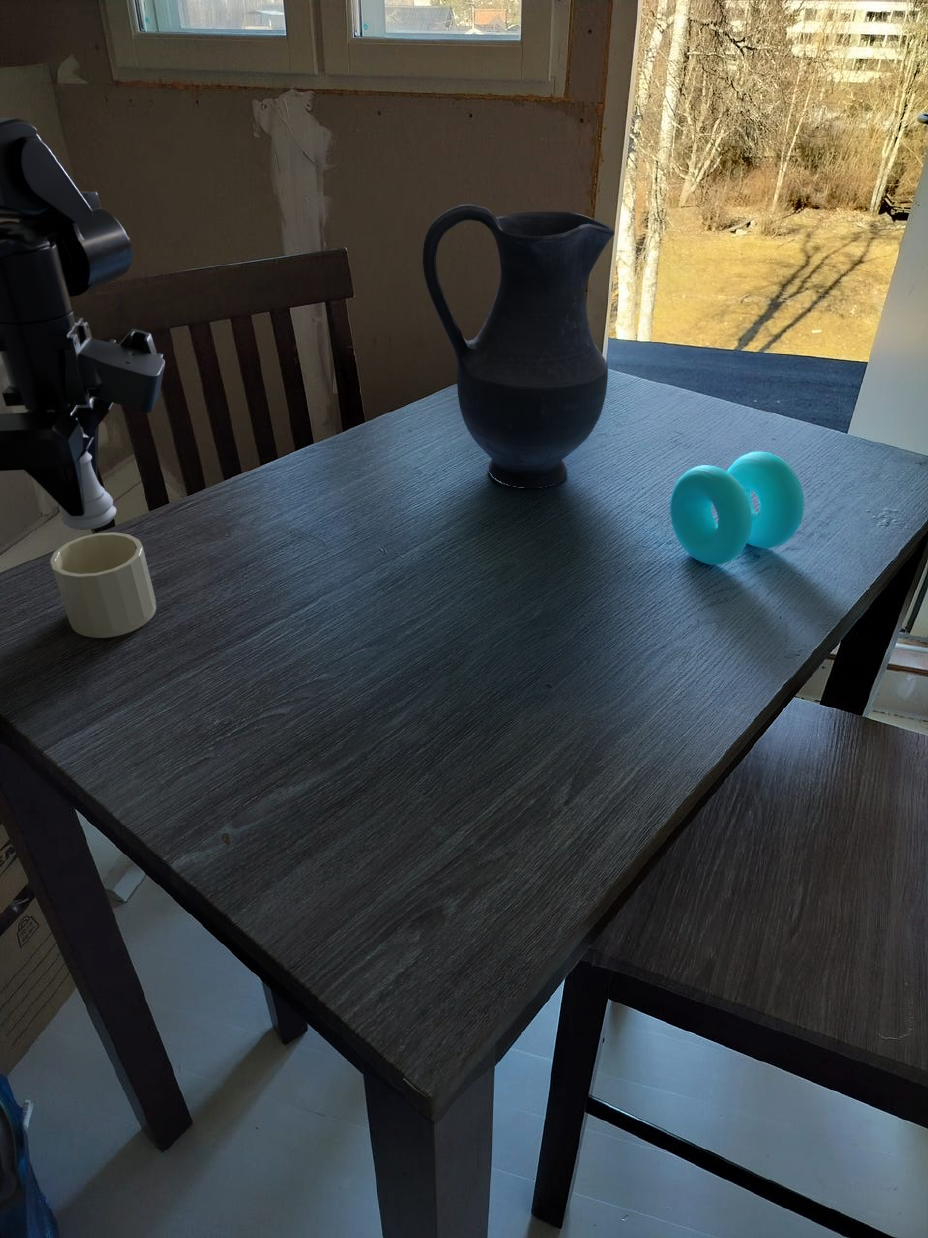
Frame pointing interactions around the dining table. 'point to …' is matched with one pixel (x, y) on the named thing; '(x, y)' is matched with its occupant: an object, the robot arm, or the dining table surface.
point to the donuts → (736, 507)
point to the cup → (104, 584)
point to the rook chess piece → (91, 500)
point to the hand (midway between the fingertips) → (84, 502)
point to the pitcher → (529, 343)
